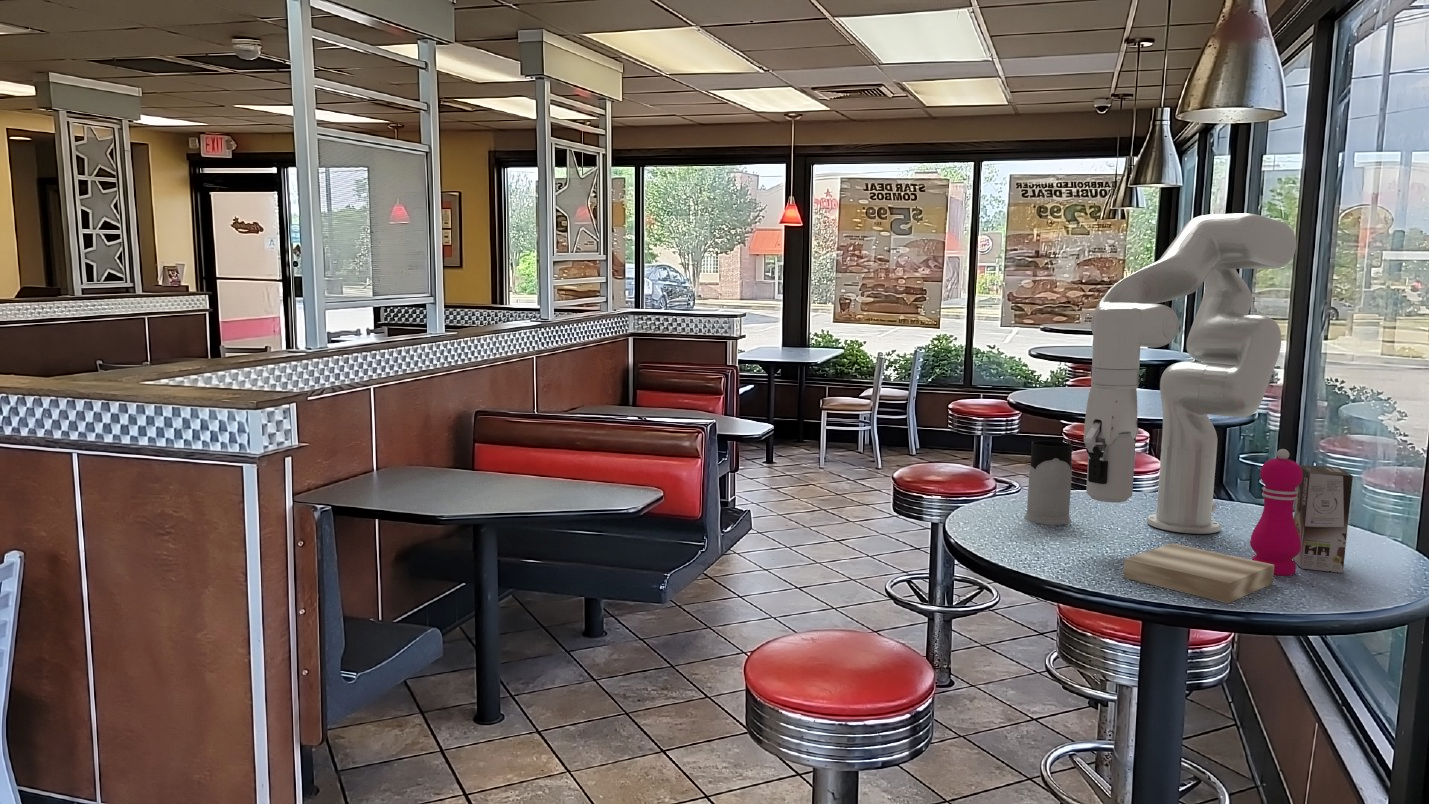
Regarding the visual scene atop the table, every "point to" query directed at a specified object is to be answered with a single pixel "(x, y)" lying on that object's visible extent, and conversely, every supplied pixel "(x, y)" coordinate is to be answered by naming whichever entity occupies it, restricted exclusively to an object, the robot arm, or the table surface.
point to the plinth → (1199, 572)
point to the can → (1116, 472)
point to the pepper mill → (1278, 515)
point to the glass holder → (1049, 483)
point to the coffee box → (1322, 517)
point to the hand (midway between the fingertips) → (1109, 478)
